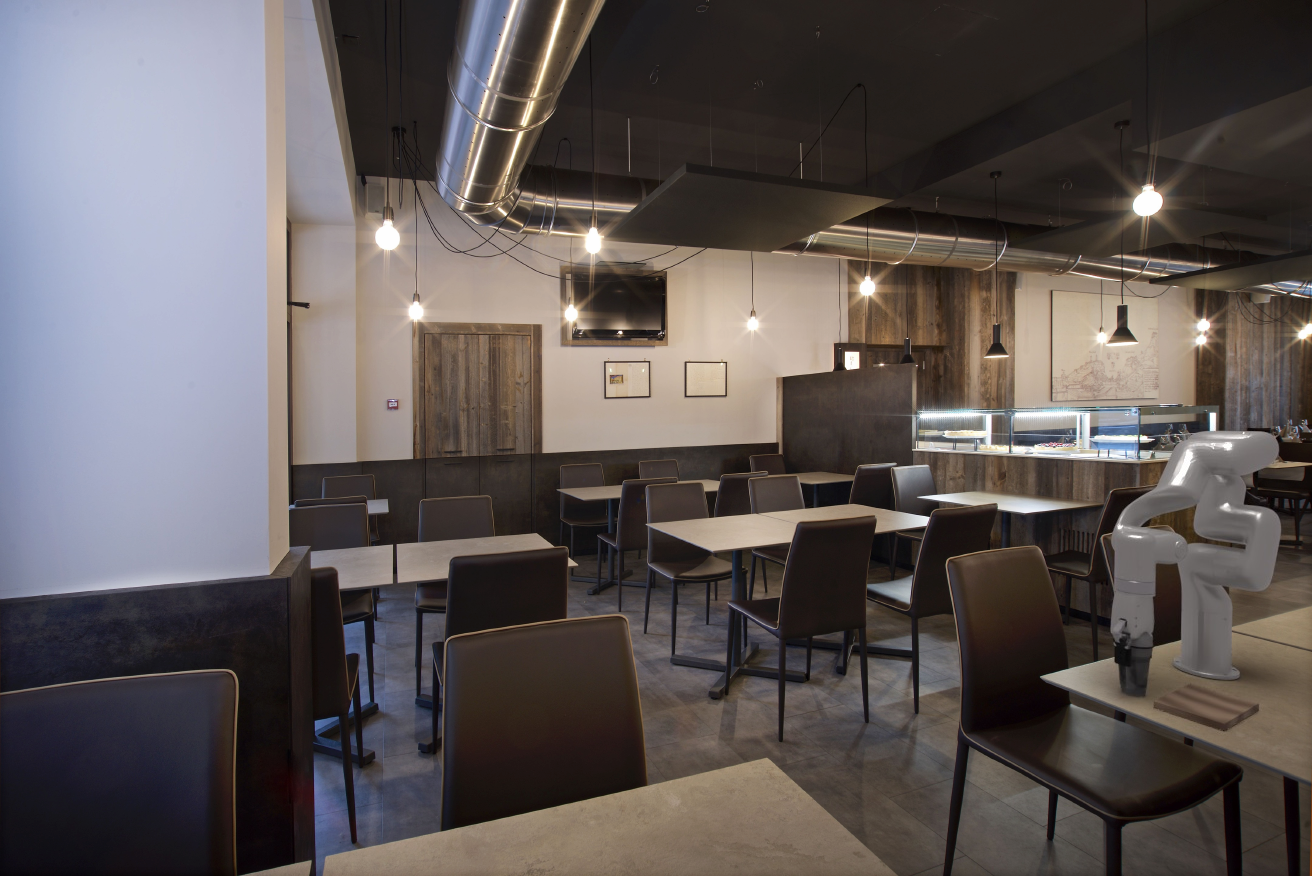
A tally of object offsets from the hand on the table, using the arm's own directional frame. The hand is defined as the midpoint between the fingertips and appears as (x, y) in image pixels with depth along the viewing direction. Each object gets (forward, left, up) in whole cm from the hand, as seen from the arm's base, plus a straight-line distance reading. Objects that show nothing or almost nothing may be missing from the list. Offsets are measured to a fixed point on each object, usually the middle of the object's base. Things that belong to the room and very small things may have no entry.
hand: (1133, 660), depth 145 cm
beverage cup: (0, 0, -8) cm, 8 cm away
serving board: (-4, +12, -7) cm, 15 cm away
